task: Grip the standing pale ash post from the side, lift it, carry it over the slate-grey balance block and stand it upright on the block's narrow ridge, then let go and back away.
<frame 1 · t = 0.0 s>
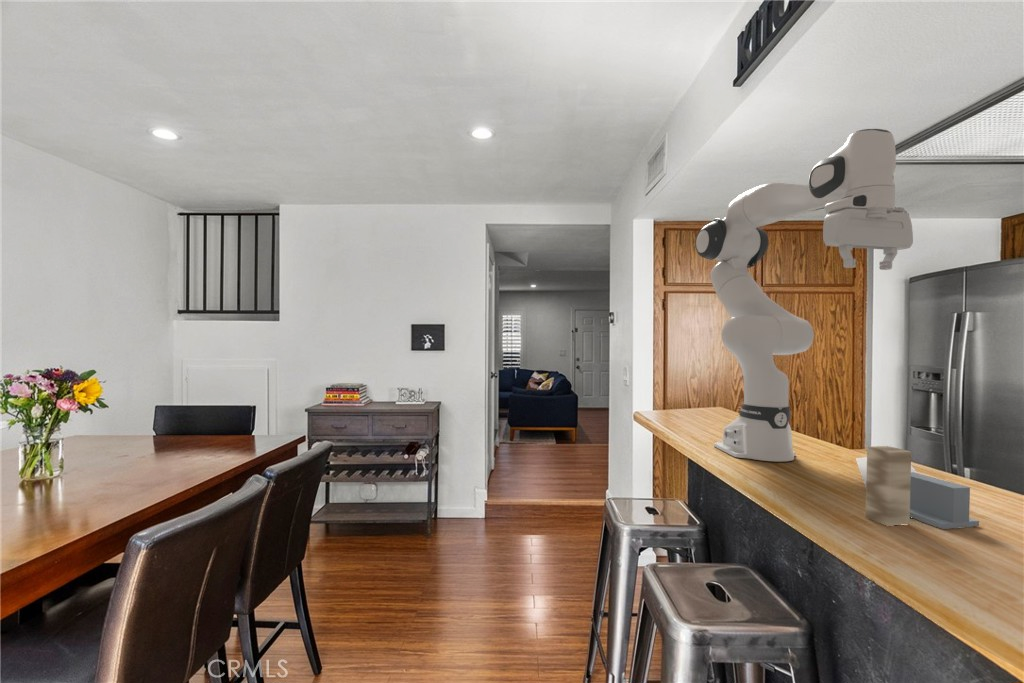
hand: (867, 268, 111), 48 cm above the table, tool pointing down, fingers open, 8 cm apart
decorative molding: (888, 487, 116), on the table
ridge block: (931, 517, 94), on the table
ash post: (887, 521, 92), on the table
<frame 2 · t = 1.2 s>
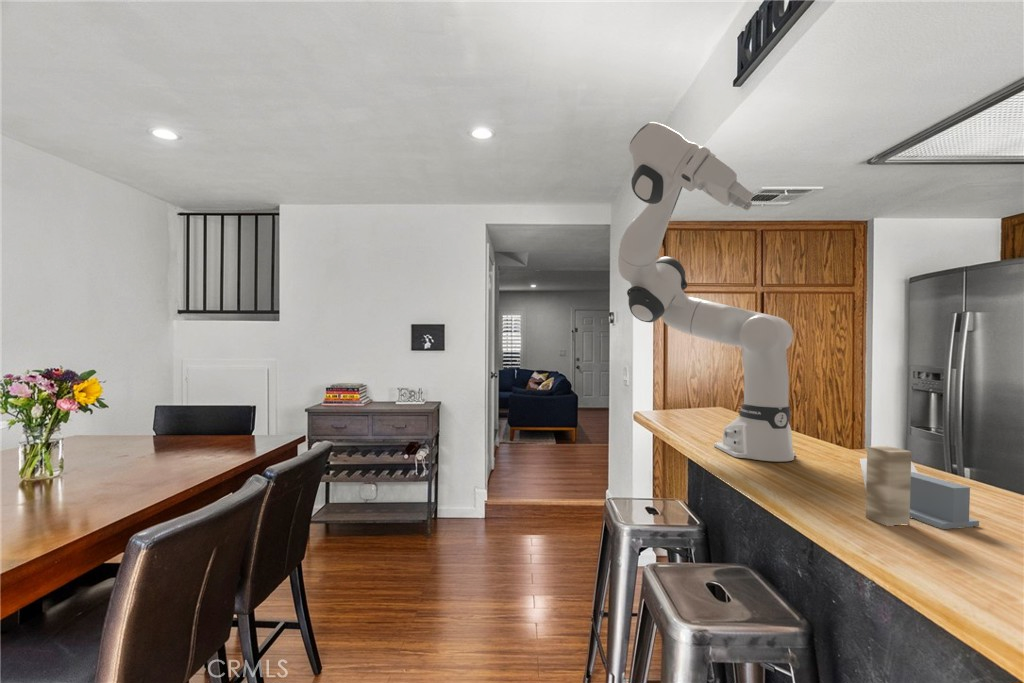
hand: (750, 203, 109), 61 cm above the table, tool tilted 55°, fingers open, 8 cm apart
nothing on the table moved.
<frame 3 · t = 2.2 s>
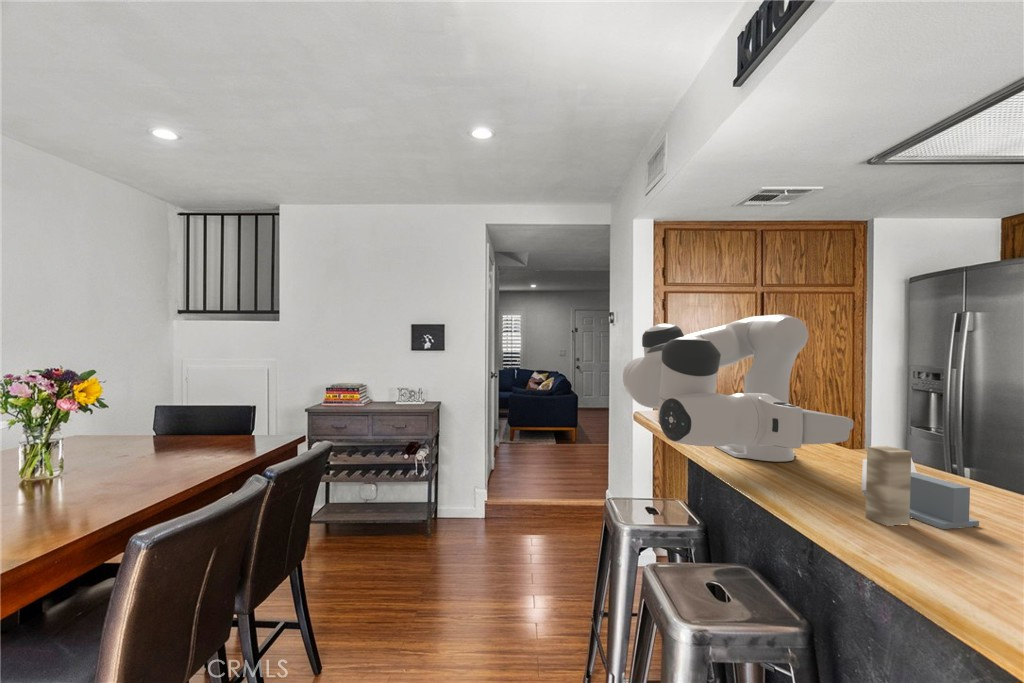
hand: (827, 418, 89), 19 cm above the table, tool horizontal, fingers open, 8 cm apart
nothing on the table moved.
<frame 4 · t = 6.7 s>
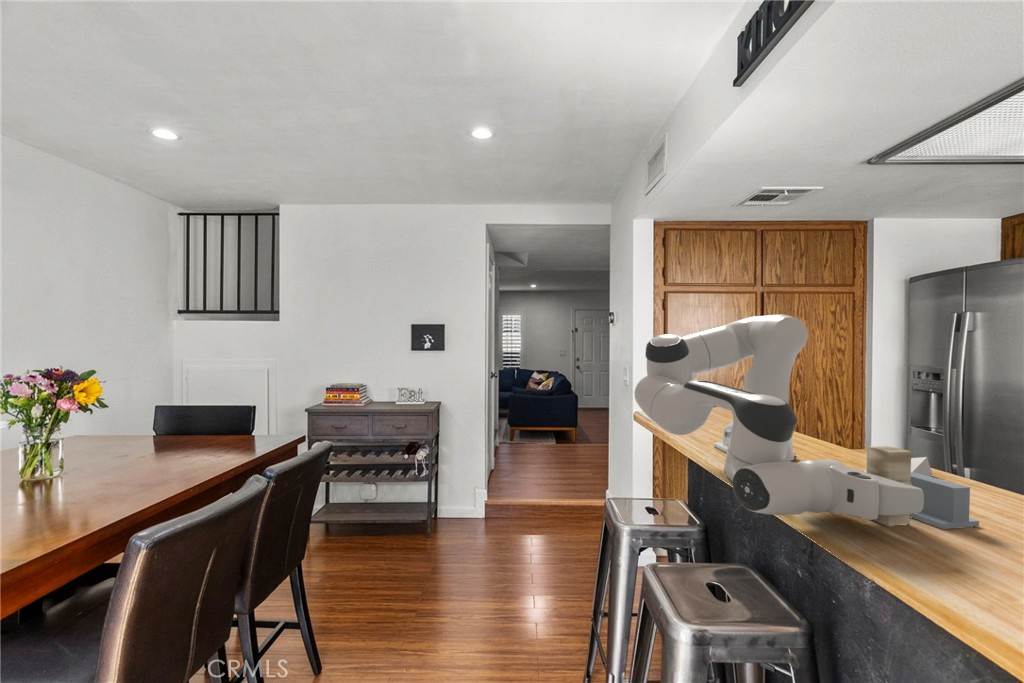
hand: (892, 481, 92), 7 cm above the table, tool horizontal, fingers closed on ash post, 4 cm apart
ash post: (887, 521, 92), on the table, touching gripper
when the fingers open (15 cm above the table, at t = 10.6 s): ash post stays where it is, resting on ridge block.
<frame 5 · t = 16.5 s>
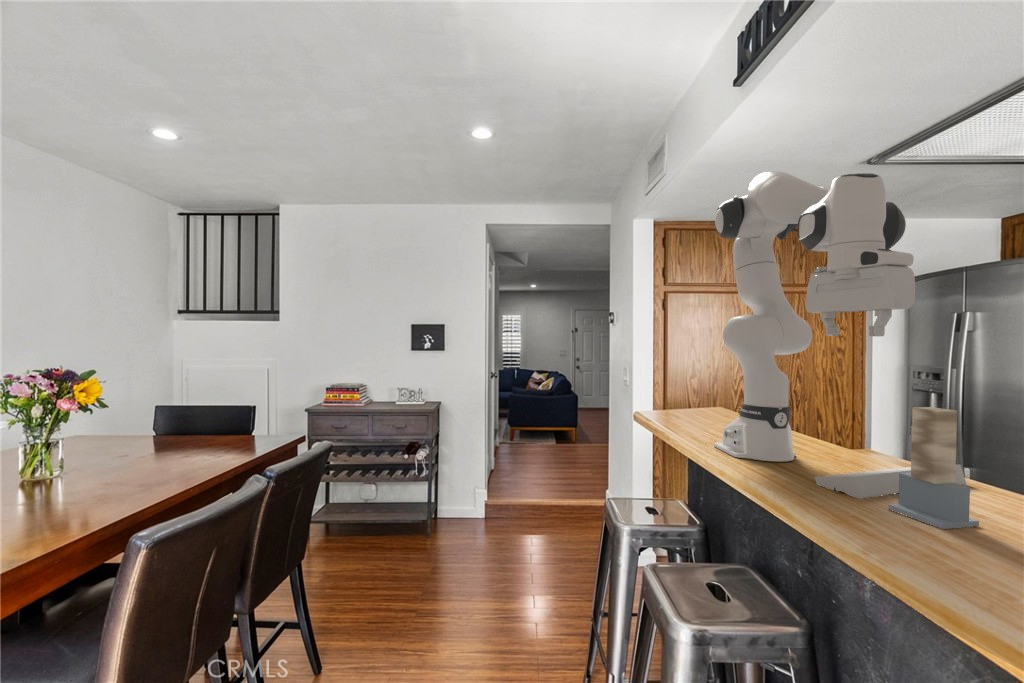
hand: (853, 336, 95), 33 cm above the table, tool pointing down, fingers open, 8 cm apart
ash post: (932, 479, 94), point 7 cm above the table, touching ridge block
at the end: ash post inside the target area on the ridge block (0.0 cm from its centre), point 7.0 cm above the ridge block's base; ash post tilted 0°; the gripper is holding nothing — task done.
